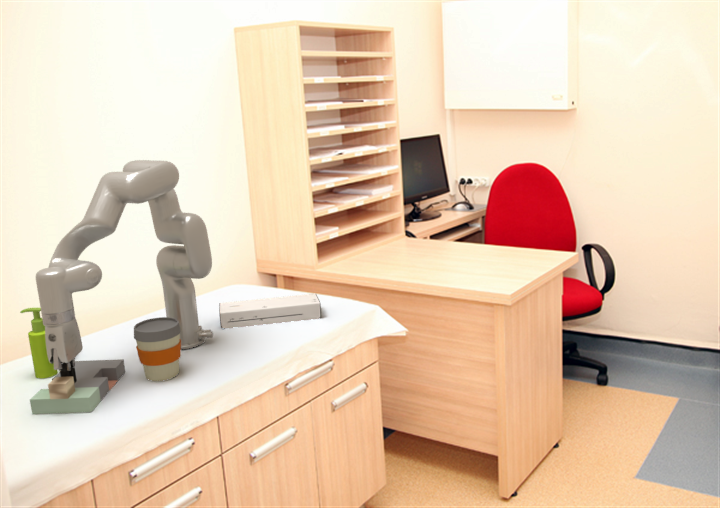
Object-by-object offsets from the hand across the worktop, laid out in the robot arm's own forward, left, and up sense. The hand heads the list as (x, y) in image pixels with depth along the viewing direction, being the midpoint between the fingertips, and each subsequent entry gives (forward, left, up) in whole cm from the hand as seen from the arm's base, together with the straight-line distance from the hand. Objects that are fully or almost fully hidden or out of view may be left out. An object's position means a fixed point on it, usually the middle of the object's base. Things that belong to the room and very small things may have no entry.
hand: (69, 383), depth 169 cm
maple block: (0, +4, -1) cm, 4 cm away
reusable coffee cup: (-19, -15, -5) cm, 25 cm away
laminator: (-43, -60, -6) cm, 74 cm away
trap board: (0, -6, -5) cm, 8 cm away
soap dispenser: (+16, -18, -5) cm, 25 cm away
